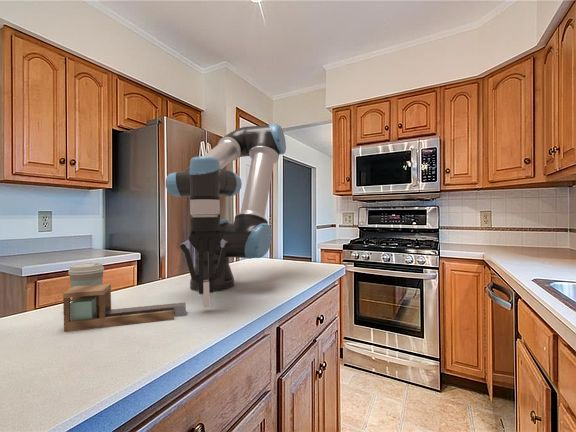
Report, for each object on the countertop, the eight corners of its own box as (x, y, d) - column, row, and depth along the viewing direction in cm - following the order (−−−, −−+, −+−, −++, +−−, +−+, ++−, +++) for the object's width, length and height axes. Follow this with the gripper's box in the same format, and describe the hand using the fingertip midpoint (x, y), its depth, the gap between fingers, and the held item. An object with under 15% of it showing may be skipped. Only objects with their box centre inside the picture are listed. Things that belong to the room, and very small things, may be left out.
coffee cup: (87, 313, 82) (86, 268, 82) (60, 312, 84) (59, 267, 83) (112, 304, 90) (111, 262, 90) (87, 302, 92) (86, 261, 92)
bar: (185, 312, 83) (185, 302, 83) (185, 316, 80) (185, 305, 80) (103, 321, 77) (103, 310, 77) (100, 326, 74) (99, 314, 74)
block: (96, 320, 77) (96, 296, 76) (92, 326, 73) (91, 301, 72) (76, 323, 75) (76, 298, 75) (70, 329, 71) (70, 302, 71)
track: (174, 310, 84) (174, 279, 83) (174, 319, 77) (173, 284, 77) (74, 321, 76) (73, 286, 76) (63, 331, 70) (63, 293, 70)
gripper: (228, 215, 88) (229, 299, 88) (179, 216, 84) (180, 304, 84) (232, 216, 81) (233, 307, 81) (178, 216, 77) (180, 312, 77)
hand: (206, 305), depth 83 cm, fingers closed
